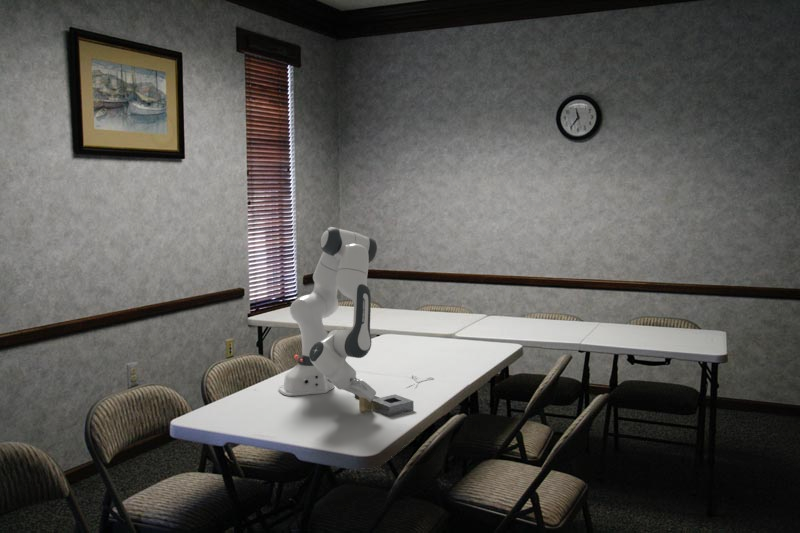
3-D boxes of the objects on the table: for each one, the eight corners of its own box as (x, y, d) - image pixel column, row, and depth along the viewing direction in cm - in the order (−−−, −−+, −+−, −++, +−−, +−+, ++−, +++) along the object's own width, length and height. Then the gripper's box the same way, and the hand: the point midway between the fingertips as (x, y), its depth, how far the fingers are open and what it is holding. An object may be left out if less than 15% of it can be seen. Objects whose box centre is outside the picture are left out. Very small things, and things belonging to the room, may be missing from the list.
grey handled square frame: (389, 416, 246) (389, 406, 246) (344, 398, 269) (344, 389, 269) (413, 410, 253) (413, 400, 252) (368, 393, 276) (368, 384, 275)
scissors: (435, 376, 298) (422, 388, 279) (435, 378, 298) (422, 390, 280) (411, 375, 302) (397, 386, 283) (411, 376, 302) (397, 388, 283)
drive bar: (364, 412, 251) (363, 390, 251) (359, 410, 254) (358, 388, 253) (371, 410, 253) (371, 389, 252) (366, 408, 256) (366, 387, 255)
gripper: (365, 375, 240) (388, 397, 246) (333, 364, 256) (356, 385, 263) (354, 390, 237) (378, 412, 244) (323, 378, 253) (346, 399, 260)
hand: (366, 398), depth 254 cm, fingers closed on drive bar, 3 cm apart
